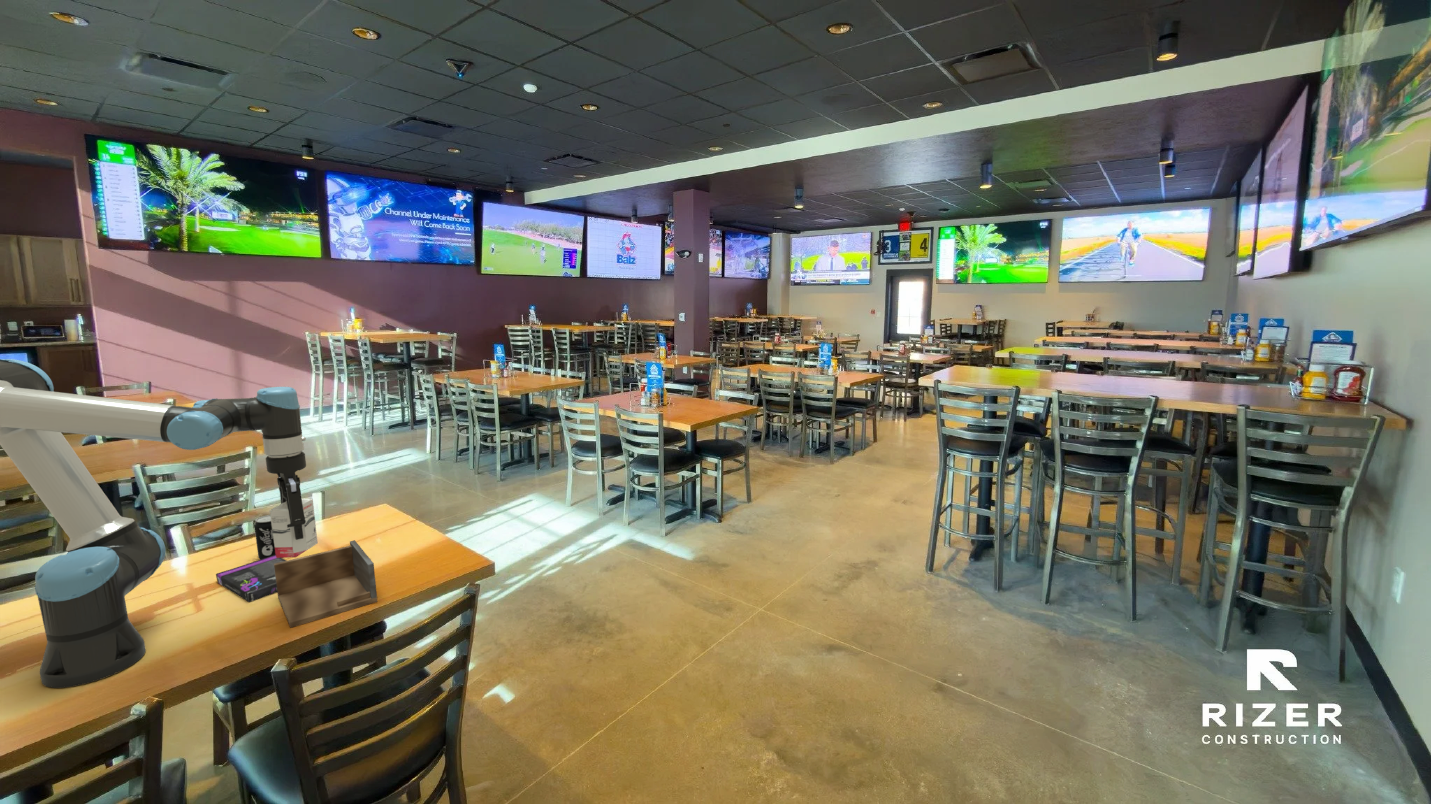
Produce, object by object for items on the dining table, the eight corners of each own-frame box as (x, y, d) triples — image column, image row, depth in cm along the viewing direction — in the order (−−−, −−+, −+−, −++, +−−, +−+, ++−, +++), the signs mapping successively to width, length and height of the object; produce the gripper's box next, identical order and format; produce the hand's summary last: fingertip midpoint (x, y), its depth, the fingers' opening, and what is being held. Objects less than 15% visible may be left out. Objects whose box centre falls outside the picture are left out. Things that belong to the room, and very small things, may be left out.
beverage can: (290, 556, 177) (286, 516, 175) (264, 564, 172) (259, 524, 170) (280, 550, 181) (275, 512, 179) (254, 558, 175) (249, 519, 173)
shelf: (290, 627, 140) (285, 586, 138) (277, 597, 153) (273, 559, 152) (377, 601, 152) (373, 563, 150) (358, 575, 165) (354, 540, 164)
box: (217, 585, 161) (248, 605, 151) (215, 573, 161) (245, 592, 150) (277, 565, 173) (309, 582, 162) (275, 554, 172) (308, 570, 162)
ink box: (296, 558, 142) (290, 509, 140) (274, 558, 142) (268, 510, 139) (318, 543, 150) (313, 497, 148) (298, 543, 150) (292, 497, 148)
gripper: (313, 460, 136) (324, 554, 140) (296, 442, 152) (306, 527, 156) (272, 466, 131) (284, 564, 135) (259, 447, 147) (271, 535, 151)
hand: (296, 544), depth 146 cm, fingers closed on ink box, 9 cm apart
